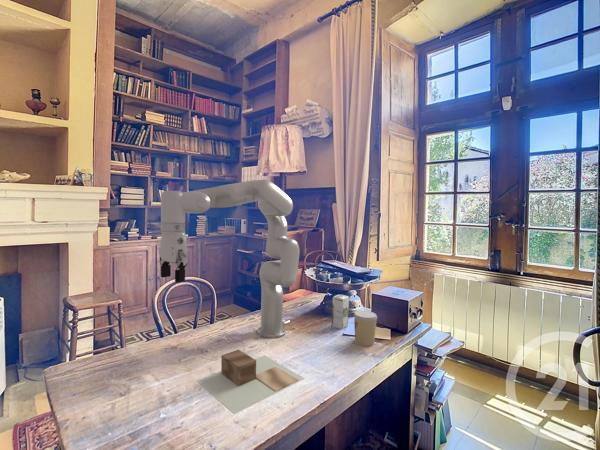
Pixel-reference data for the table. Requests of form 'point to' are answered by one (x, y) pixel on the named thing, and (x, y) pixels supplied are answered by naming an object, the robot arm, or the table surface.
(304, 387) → the table surface
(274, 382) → the cork pad
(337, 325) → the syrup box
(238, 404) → the sage board
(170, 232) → the robot arm
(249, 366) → the walnut cover
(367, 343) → the coffee cup
